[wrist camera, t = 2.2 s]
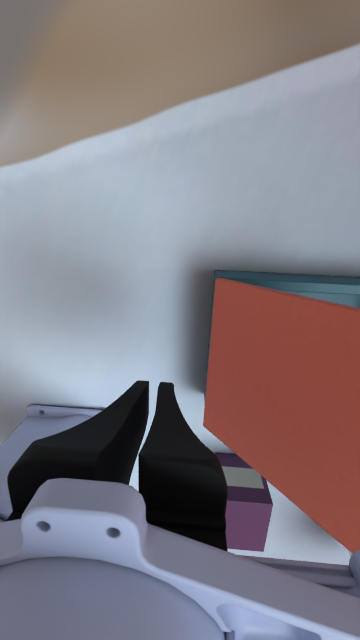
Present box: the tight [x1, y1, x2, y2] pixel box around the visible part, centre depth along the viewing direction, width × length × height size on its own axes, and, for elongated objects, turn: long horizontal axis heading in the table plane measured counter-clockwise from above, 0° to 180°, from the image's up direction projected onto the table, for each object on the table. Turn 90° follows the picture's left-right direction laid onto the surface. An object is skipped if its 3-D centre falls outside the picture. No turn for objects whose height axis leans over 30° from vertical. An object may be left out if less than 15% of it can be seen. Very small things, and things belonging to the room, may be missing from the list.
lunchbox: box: [204, 270, 360, 398], centre depth 21 cm, size 13×11×4 cm
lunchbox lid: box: [203, 278, 360, 553], centre depth 14 cm, size 14×11×1 cm
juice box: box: [215, 453, 273, 552], centre depth 25 cm, size 4×6×5 cm
